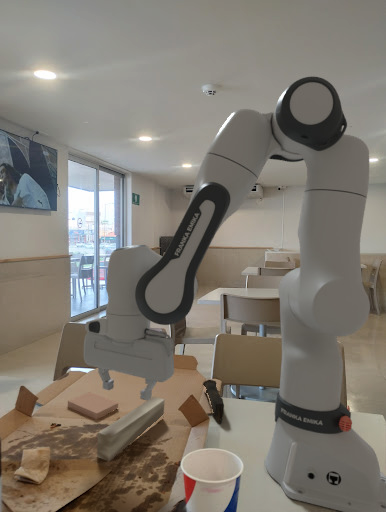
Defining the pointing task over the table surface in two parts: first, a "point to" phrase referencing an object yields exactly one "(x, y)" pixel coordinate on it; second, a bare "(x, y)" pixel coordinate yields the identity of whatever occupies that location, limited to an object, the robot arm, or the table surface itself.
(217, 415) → the hand tool
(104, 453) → the gray bar
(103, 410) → the tile
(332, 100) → the robot arm
